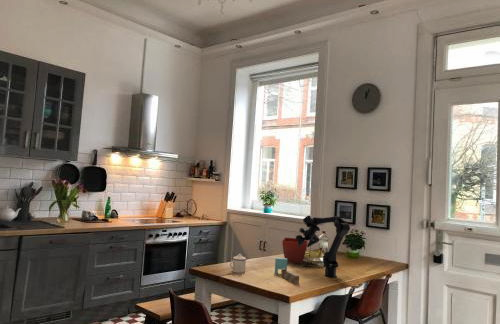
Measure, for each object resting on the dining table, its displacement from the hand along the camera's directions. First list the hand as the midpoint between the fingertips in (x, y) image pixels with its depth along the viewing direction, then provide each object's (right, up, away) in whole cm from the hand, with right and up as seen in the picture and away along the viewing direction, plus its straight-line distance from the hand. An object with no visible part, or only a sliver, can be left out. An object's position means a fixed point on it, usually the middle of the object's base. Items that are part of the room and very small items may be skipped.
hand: (302, 247), depth 298 cm
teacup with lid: (-48, -11, -28) cm, 57 cm away
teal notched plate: (-19, -12, -26) cm, 34 cm away
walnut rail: (-14, -12, -44) cm, 47 cm away
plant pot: (-4, -16, +19) cm, 25 cm away
